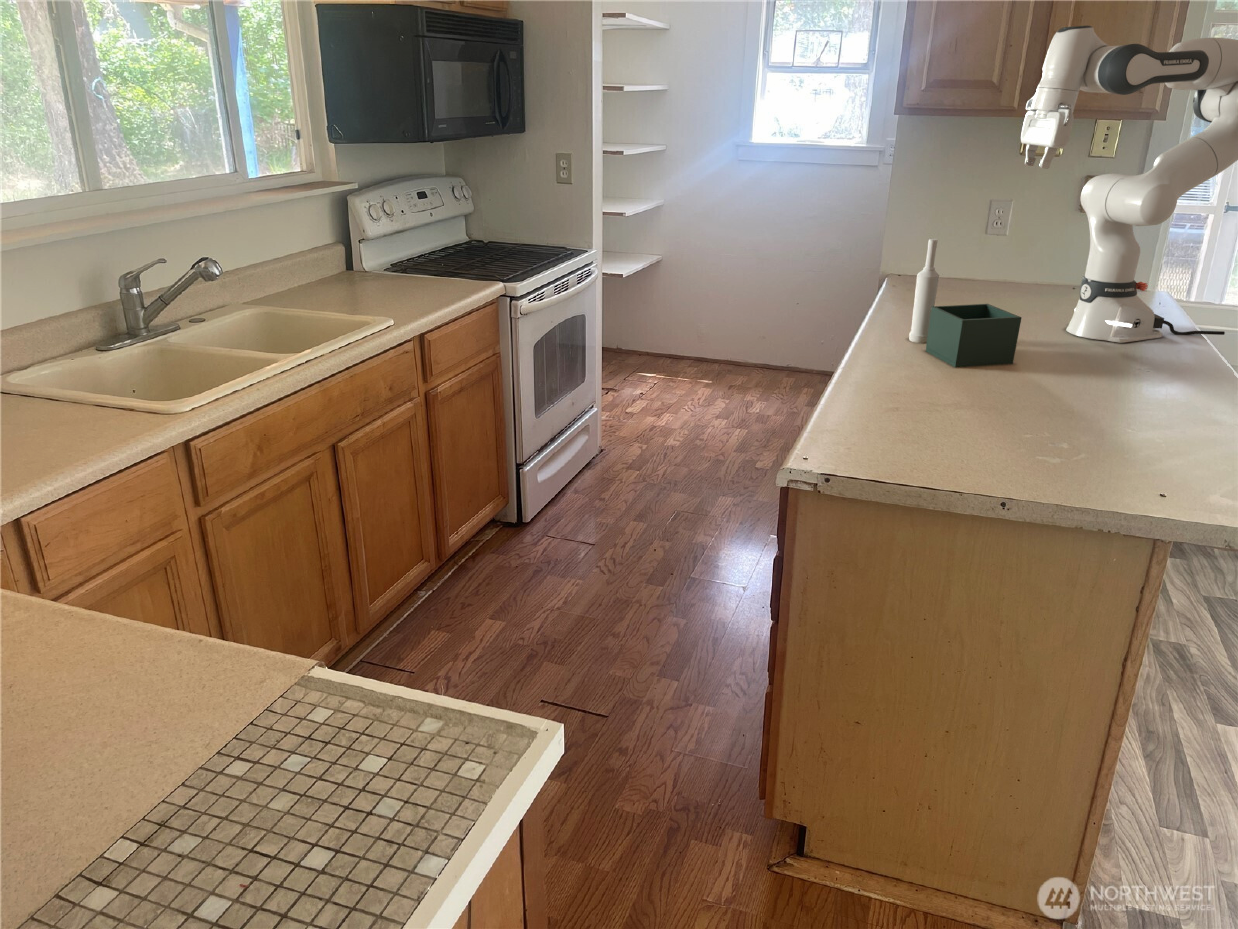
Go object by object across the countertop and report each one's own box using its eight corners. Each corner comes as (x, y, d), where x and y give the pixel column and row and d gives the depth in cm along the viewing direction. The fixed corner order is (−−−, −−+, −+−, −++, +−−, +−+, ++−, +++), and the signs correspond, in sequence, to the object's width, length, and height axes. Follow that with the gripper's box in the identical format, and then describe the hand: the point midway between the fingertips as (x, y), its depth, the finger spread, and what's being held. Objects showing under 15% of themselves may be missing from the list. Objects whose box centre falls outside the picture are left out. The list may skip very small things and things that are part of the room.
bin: (980, 347, 213) (987, 303, 209) (1013, 363, 201) (1021, 317, 196) (925, 351, 211) (931, 306, 206) (955, 367, 198) (962, 320, 194)
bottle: (931, 343, 217) (945, 241, 207) (909, 342, 218) (923, 240, 208) (928, 338, 221) (943, 238, 211) (907, 337, 222) (920, 237, 212)
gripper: (1087, 105, 189) (1067, 171, 194) (1050, 104, 208) (1033, 165, 213) (1058, 102, 189) (1039, 168, 194) (1024, 101, 208) (1008, 162, 213)
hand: (1036, 166), depth 204 cm, fingers open, 8 cm apart
